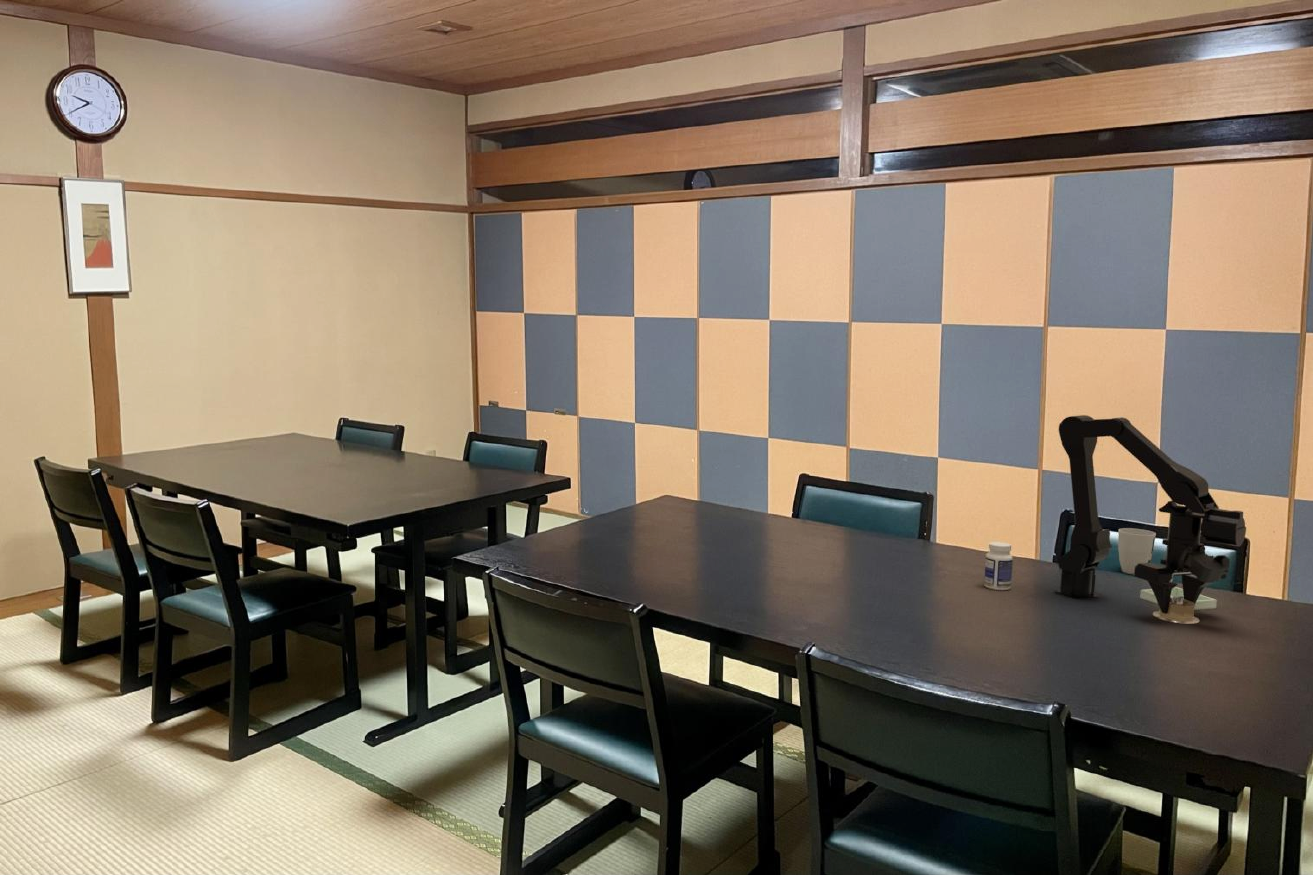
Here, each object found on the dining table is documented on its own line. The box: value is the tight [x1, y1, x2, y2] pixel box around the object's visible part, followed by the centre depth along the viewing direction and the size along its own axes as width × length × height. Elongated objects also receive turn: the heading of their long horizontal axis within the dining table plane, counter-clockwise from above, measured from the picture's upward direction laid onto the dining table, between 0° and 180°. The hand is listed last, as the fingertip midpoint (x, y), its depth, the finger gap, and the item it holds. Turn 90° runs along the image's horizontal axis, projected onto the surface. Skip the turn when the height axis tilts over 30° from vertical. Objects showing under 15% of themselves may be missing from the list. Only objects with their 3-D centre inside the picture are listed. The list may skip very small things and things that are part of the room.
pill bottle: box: [983, 541, 1014, 591], centre depth 220 cm, size 6×6×10 cm
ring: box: [1159, 597, 1195, 622], centre depth 200 cm, size 6×6×3 cm
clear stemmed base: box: [1152, 596, 1200, 625], centre depth 200 cm, size 8×8×5 cm
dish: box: [1139, 586, 1218, 611], centre depth 210 cm, size 10×10×2 cm
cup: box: [1117, 527, 1157, 575], centre depth 238 cm, size 8×8×10 cm
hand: (1176, 612), depth 200 cm, fingers closed on ring, 6 cm apart
